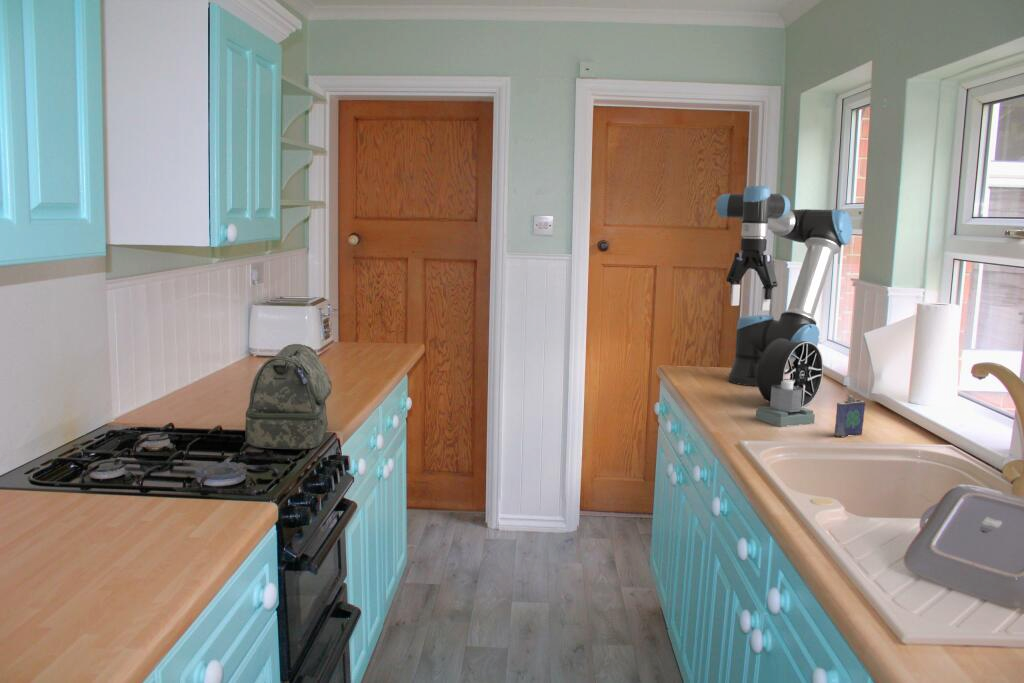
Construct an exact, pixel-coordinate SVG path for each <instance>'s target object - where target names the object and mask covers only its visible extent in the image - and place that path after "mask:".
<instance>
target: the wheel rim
mask: <svg viewBox="0 0 1024 683" xmlns="http://www.w3.org/2000/svg"><path fill="white" fill-rule="evenodd" d="M793 351H795V353H796V356H795V355H794V354H792V353H793ZM791 355H792V356H793V357H795V358H794V361H793V363H792V364H793V365H792V364H791V358H790V356H791ZM787 365H788V367H789V369H788V370H787V371H786V368H787ZM789 375H790V376H789ZM823 375H824V360H823V356H822V353H821V351H820V349H819V347H818V345H817V346H816V345H815V344H813V343H811V342H807V341H801V342H798V343H797V342H790V341H789V340H787V339H784V338H778V339H775V340H773V341H772V342H771V343H770V344H769V345H768V346H767V347H766V348H765V350H764V351H763V353H762V355H761V358H760V361H759V364H758V369H757V383H758V386H757V387H758V391H759V393H760V395H761V397H762V398H763V399H764V400H766V401H767V402H770V401H771V387H772V385H780V384H781V381H790V382H793V385H794V386H798V387H802V398H801V407H803V408H805V407H807V406H809V405H810V404H811V402H813V400H814V399H815V398H816V397H817V394H818V392H819V390H820V387H821V385H822V381H823ZM786 376H789V379H788V378H785V377H786Z"/></svg>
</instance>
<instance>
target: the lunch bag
mask: <svg viewBox="0 0 1024 683" xmlns="http://www.w3.org/2000/svg"><path fill="white" fill-rule="evenodd" d="M332 386H333V384H332V381H331V379H330V377H329V375H328V371H327V369H326V367H325V366H324V364H323V362H322V361H321V359H320V358H319V355H318V354H317V352H316V351H315V350H314V349H313V348H312V347H311V346H308V345H306V344H301V343H292V344H288V345H286V346H284V347H283V348H282V349H281V350H280V351H278V353H276V354H275V356H273V357H271V358H269V359H268V360H266V361H265V362H263V364H262V366H260V368H259V369H258V371H257V372H256V374H255V376H254V378H253V381H252V384H251V387H250V388H251V389H250V393H249V403H248V408H247V409H246V411H245V441H246V442H247V443H248V445H250V446H252V447H254V448H259V449H260V448H261V449H264V448H265V449H274V450H275V449H279V450H310V449H314V448H315V449H316V448H317V447H318V446H320V444H321V443H322V441H323V438H324V436H325V434H326V431H327V428H328V425H329V422H328V416H327V403H326V401H327V399H328V397H329V396H330V395H331V393H332V388H333V387H332Z"/></svg>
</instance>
